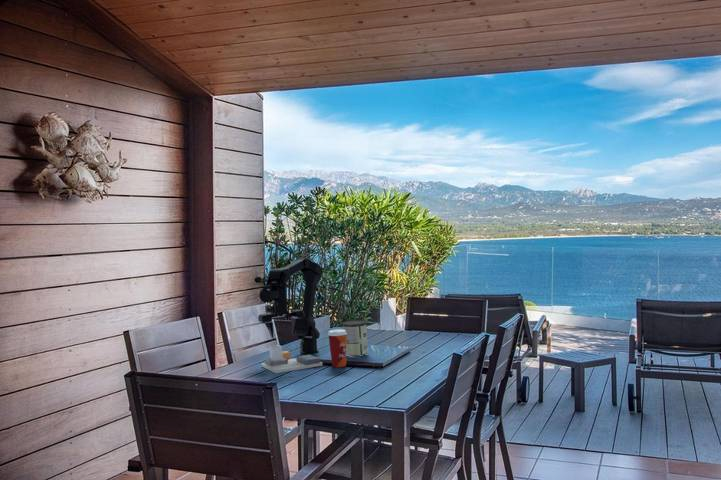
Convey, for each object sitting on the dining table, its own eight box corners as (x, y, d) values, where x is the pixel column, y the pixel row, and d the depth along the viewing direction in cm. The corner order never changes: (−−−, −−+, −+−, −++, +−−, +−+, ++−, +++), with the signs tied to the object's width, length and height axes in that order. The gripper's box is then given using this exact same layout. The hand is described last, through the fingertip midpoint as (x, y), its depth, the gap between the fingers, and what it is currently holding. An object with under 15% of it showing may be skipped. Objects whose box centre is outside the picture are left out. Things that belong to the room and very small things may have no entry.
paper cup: (346, 367, 264) (344, 332, 264) (327, 368, 266) (325, 332, 265) (350, 363, 272) (348, 328, 271) (332, 363, 273) (330, 329, 273)
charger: (279, 361, 277) (278, 344, 277) (283, 363, 274) (281, 345, 273) (270, 363, 275) (269, 345, 275) (273, 364, 272) (272, 347, 271)
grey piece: (310, 359, 279) (309, 354, 279) (320, 362, 270) (319, 358, 270) (296, 361, 276) (296, 356, 276) (306, 365, 268) (306, 360, 267)
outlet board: (306, 359, 285) (306, 352, 285) (322, 365, 271) (322, 358, 271) (261, 366, 276) (261, 359, 276) (275, 373, 261) (275, 366, 261)
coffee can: (345, 353, 294) (343, 320, 293) (369, 352, 293) (367, 319, 292) (342, 358, 284) (340, 324, 283) (367, 357, 283) (365, 323, 282)
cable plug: (280, 357, 293) (279, 348, 293) (290, 361, 283) (289, 352, 282) (271, 358, 291) (271, 349, 291) (281, 363, 281) (280, 353, 281)
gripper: (293, 295, 294) (295, 331, 295) (252, 300, 285) (255, 336, 286) (303, 297, 284) (306, 334, 285) (261, 302, 276) (264, 340, 276)
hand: (282, 336), depth 283 cm, fingers open, 9 cm apart
